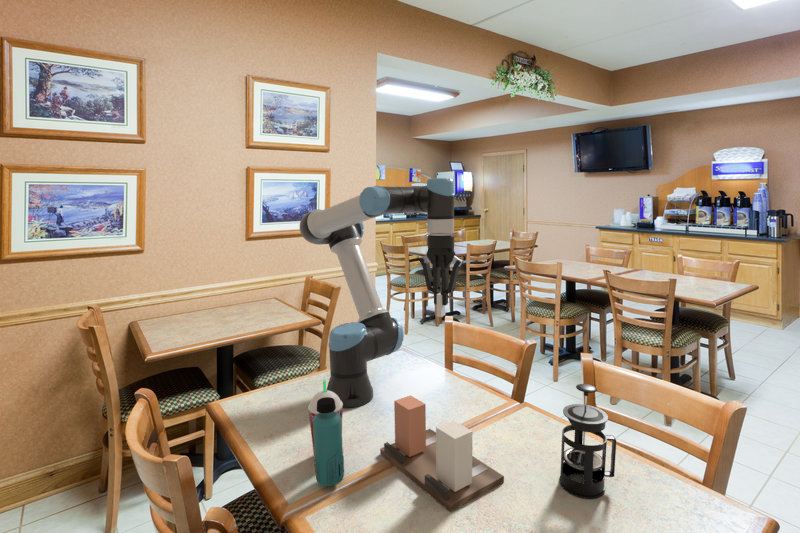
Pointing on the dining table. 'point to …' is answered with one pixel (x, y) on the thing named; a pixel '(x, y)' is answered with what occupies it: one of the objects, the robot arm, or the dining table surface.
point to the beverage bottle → (328, 443)
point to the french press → (585, 449)
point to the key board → (424, 474)
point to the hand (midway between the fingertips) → (441, 315)
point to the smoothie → (313, 406)
